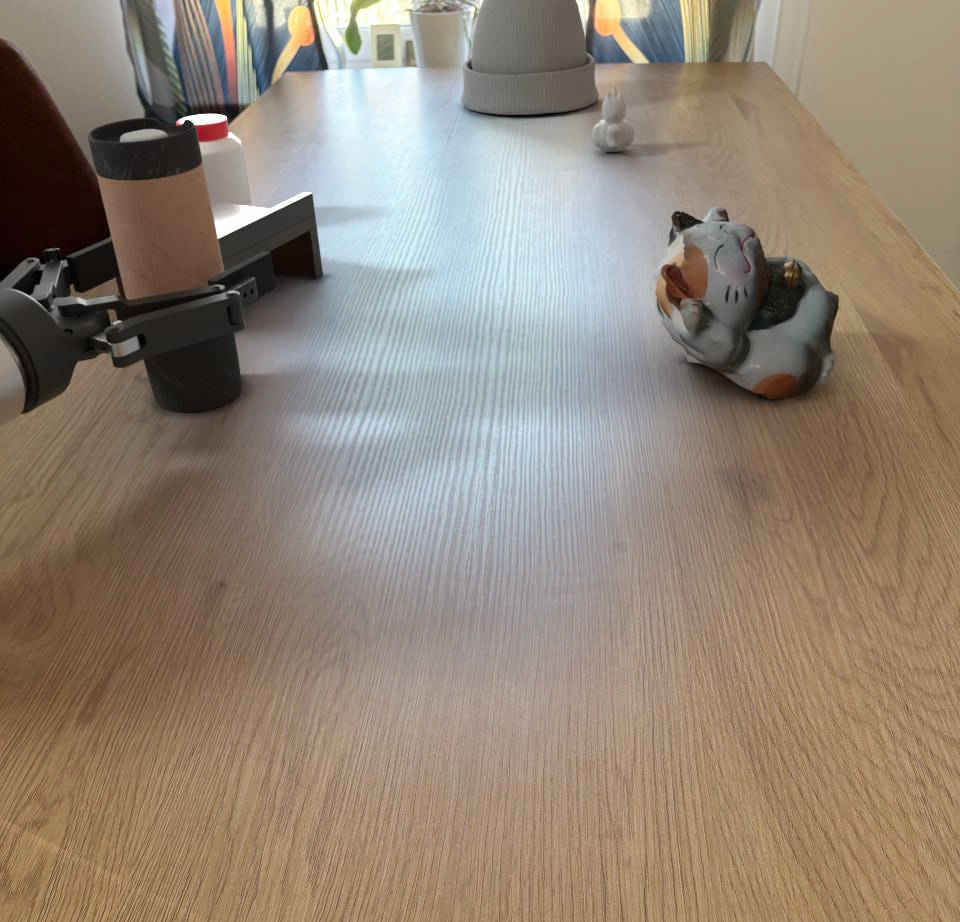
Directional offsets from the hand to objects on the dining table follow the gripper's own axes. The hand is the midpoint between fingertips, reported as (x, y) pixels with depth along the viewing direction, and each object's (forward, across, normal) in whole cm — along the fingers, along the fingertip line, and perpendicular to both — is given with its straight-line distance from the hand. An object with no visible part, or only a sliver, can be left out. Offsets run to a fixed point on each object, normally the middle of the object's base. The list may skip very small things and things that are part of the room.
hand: (199, 258), depth 84 cm
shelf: (+16, -12, -10) cm, 22 cm away
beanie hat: (+100, -19, -10) cm, 102 cm away
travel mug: (-3, 0, -10) cm, 11 cm away
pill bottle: (+34, -27, -10) cm, 45 cm away
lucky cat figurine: (+18, +39, -10) cm, 44 cm away
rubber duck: (+77, +4, -10) cm, 78 cm away
